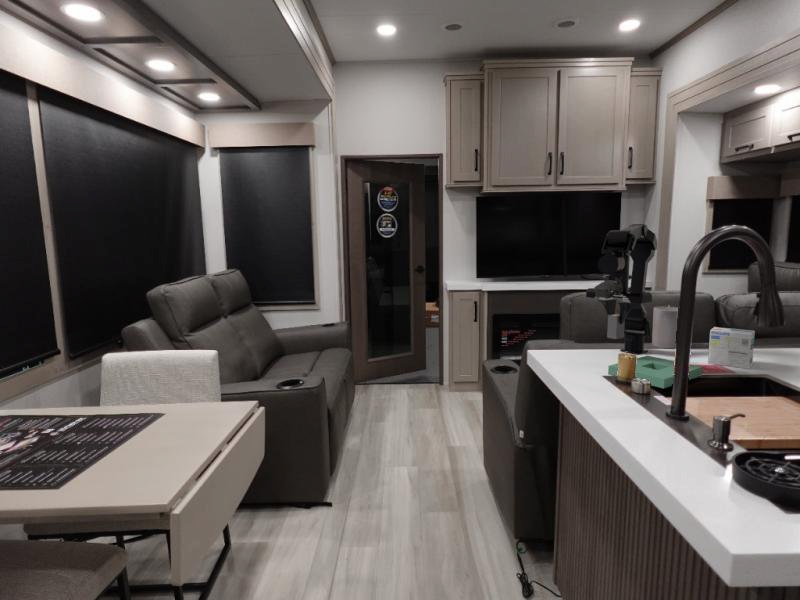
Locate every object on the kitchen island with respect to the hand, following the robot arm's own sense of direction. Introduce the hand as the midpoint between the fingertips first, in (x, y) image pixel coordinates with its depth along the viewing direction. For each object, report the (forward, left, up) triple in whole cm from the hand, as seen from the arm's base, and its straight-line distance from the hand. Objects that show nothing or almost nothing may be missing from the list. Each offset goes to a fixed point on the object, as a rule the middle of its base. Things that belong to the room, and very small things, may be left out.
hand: (616, 323), depth 145 cm
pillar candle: (-37, -4, -13) cm, 40 cm away
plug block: (0, 0, -4) cm, 4 cm away
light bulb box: (-28, +20, -13) cm, 37 cm away
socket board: (+1, +13, -13) cm, 19 cm away
